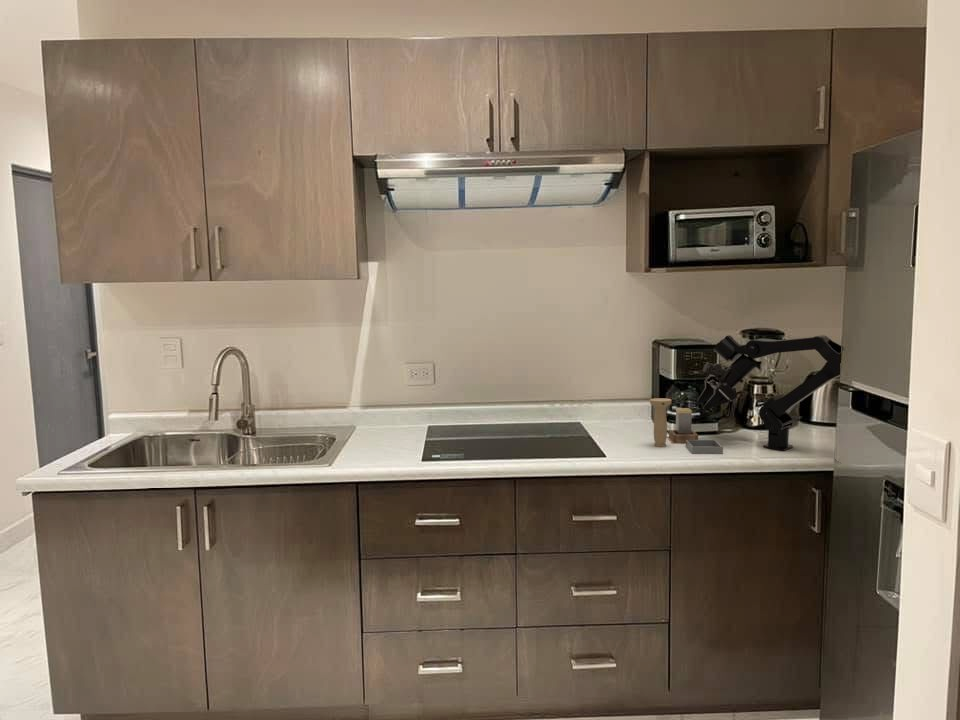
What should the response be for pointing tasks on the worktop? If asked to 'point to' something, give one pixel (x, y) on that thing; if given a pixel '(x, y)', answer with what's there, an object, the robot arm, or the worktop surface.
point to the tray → (704, 447)
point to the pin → (683, 421)
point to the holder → (681, 437)
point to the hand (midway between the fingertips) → (700, 405)
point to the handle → (660, 420)
